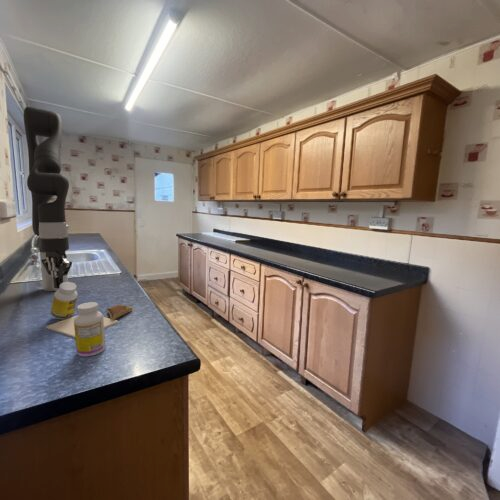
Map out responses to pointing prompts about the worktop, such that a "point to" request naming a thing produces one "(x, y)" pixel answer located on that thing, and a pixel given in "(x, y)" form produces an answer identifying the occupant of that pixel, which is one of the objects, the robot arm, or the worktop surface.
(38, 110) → the robot arm
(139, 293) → the worktop surface
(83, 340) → the supplement bottle
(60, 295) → the pill bottle
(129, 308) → the shard
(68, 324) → the mat
